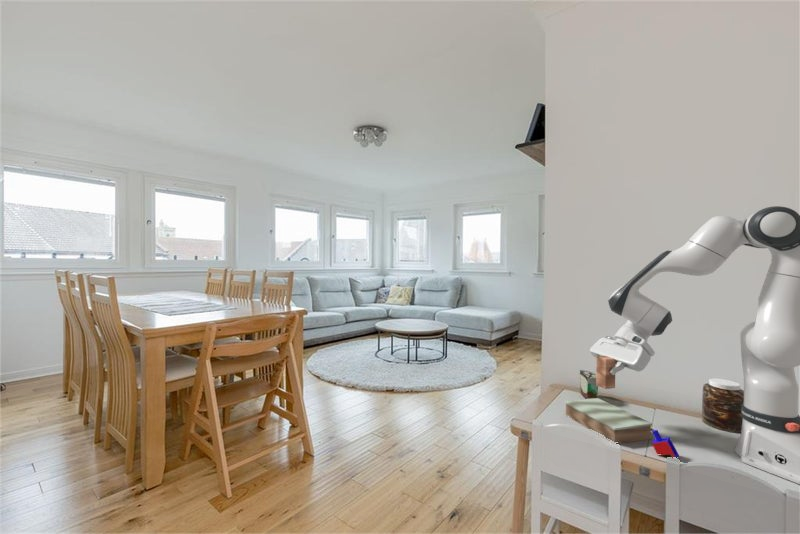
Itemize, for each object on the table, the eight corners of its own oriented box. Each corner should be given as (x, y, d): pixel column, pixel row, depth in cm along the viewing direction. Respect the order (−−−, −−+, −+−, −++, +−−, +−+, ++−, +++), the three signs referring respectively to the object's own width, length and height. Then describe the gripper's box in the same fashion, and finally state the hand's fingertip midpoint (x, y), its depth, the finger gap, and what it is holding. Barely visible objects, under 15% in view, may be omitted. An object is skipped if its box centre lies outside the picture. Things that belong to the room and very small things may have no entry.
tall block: (615, 388, 125) (615, 358, 125) (605, 389, 124) (605, 359, 124) (605, 384, 129) (606, 355, 129) (596, 385, 128) (596, 356, 128)
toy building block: (663, 457, 109) (649, 429, 112) (679, 455, 107) (664, 427, 109) (661, 462, 107) (646, 433, 109) (677, 460, 104) (661, 431, 107)
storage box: (652, 439, 117) (652, 423, 117) (614, 444, 114) (614, 428, 114) (597, 411, 139) (597, 398, 139) (564, 414, 136) (564, 401, 136)
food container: (604, 404, 146) (605, 379, 146) (587, 403, 147) (588, 378, 147) (594, 393, 158) (595, 370, 158) (579, 392, 159) (579, 369, 159)
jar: (753, 428, 125) (754, 384, 125) (736, 435, 120) (737, 389, 120) (711, 415, 136) (712, 375, 136) (694, 421, 131) (695, 379, 131)
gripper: (599, 329, 138) (577, 357, 136) (649, 341, 118) (623, 373, 116) (609, 341, 139) (587, 368, 137) (659, 354, 119) (635, 386, 117)
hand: (604, 371), depth 126 cm, fingers closed on tall block, 4 cm apart
